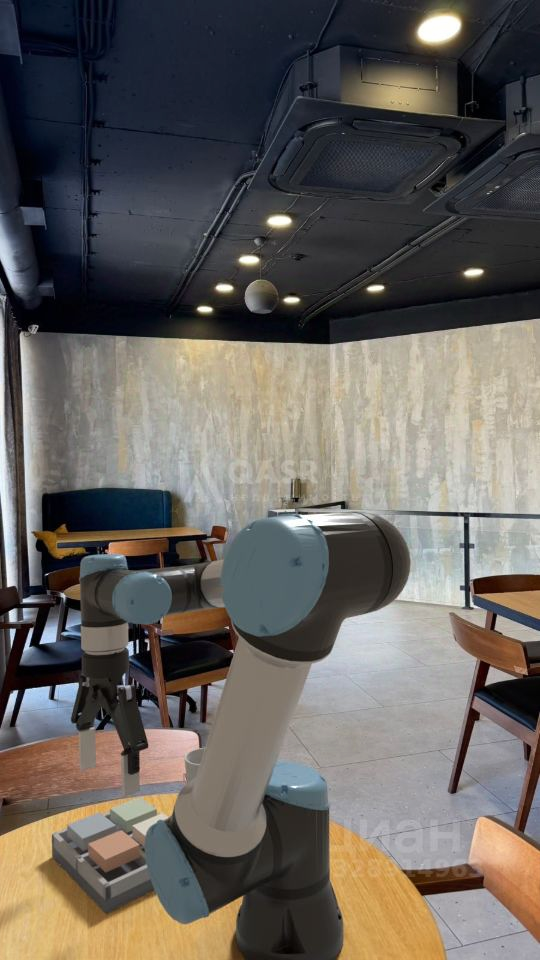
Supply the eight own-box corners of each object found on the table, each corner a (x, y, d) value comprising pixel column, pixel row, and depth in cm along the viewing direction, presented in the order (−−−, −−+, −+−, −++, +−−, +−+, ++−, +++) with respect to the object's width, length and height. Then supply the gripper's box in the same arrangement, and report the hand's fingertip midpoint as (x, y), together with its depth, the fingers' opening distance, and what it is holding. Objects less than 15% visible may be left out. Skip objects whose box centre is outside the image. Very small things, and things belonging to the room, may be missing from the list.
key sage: (156, 820, 113) (156, 809, 113) (126, 832, 109) (126, 821, 109) (139, 807, 117) (139, 797, 117) (110, 819, 113) (110, 808, 113)
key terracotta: (139, 857, 102) (139, 844, 102) (105, 872, 98) (105, 859, 98) (121, 841, 106) (121, 829, 106) (88, 856, 102) (88, 843, 102)
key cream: (181, 838, 107) (181, 826, 107) (150, 852, 103) (150, 839, 103) (162, 824, 111) (162, 813, 111) (132, 837, 107) (132, 825, 107)
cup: (220, 831, 116) (219, 766, 117) (179, 827, 118) (178, 763, 118) (231, 810, 124) (230, 748, 124) (193, 806, 126) (192, 746, 126)
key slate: (116, 837, 108) (115, 825, 108) (82, 851, 104) (82, 838, 104) (99, 823, 112) (99, 812, 112) (67, 836, 108) (67, 824, 108)
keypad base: (199, 867, 106) (199, 843, 106) (106, 914, 94) (105, 887, 94) (139, 821, 121) (138, 800, 121) (52, 857, 109) (51, 833, 109)
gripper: (168, 656, 97) (172, 796, 97) (88, 635, 115) (91, 752, 115) (126, 666, 92) (129, 814, 91) (49, 642, 110) (51, 765, 109)
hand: (108, 780), depth 103 cm, fingers open, 13 cm apart
